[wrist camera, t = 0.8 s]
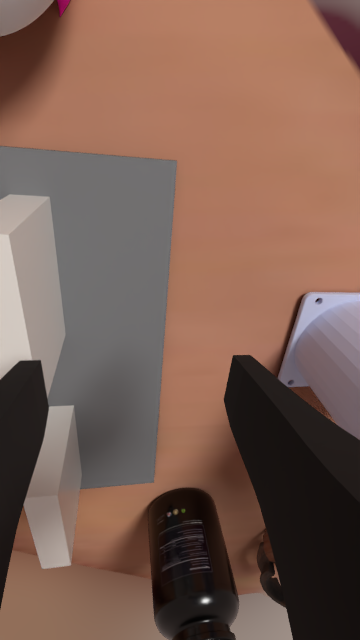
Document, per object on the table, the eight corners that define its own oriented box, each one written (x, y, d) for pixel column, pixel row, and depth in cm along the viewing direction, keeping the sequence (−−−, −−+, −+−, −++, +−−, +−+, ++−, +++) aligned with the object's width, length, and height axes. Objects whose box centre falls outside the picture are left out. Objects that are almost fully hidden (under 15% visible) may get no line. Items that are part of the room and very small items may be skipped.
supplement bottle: (219, 512, 34) (261, 677, 24) (158, 530, 34) (173, 703, 24) (206, 477, 30) (248, 654, 20) (137, 498, 30) (144, 685, 20)
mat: (175, 160, 16) (176, 161, 15) (153, 478, 29) (153, 482, 29) (-180, 130, 13) (-188, 130, 13) (-28, 494, 26) (-30, 499, 26)
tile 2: (73, 405, 22) (57, 495, 17) (81, 474, 27) (70, 565, 21) (44, 406, 22) (18, 498, 17) (57, 476, 26) (39, 569, 21)
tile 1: (49, 196, 15) (8, 234, 10) (65, 334, 19) (42, 415, 14) (6, 193, 15) (-62, 231, 10) (31, 334, 19) (-6, 418, 14)
